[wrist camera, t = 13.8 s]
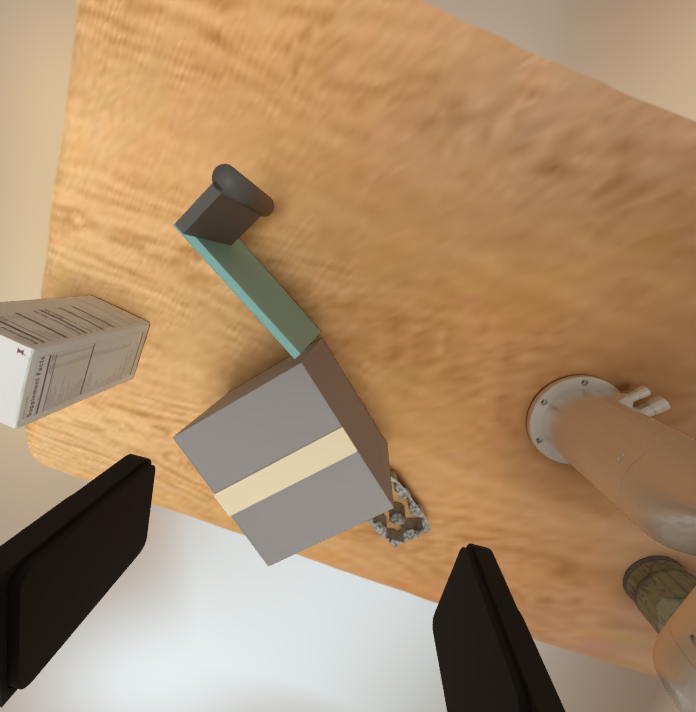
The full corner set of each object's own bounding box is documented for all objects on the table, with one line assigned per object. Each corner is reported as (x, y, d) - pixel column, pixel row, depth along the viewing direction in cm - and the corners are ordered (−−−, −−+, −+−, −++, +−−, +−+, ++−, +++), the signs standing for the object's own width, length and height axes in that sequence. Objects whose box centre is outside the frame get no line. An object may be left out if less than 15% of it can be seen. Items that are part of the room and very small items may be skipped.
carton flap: (359, 298, 43) (354, 308, 28) (316, 335, 45) (289, 364, 30) (275, 198, 41) (221, 153, 26) (233, 241, 43) (159, 221, 28)
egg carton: (350, 484, 51) (348, 501, 47) (392, 460, 49) (394, 476, 45) (388, 536, 52) (389, 557, 48) (430, 514, 51) (435, 534, 47)
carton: (322, 337, 45) (301, 362, 32) (387, 443, 48) (394, 509, 35) (228, 392, 48) (171, 438, 34) (295, 489, 51) (267, 568, 37)
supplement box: (90, 293, 46) (-63, 301, 30) (152, 321, 47) (34, 345, 30) (74, 353, 48) (-77, 392, 32) (133, 380, 49) (13, 432, 32)
